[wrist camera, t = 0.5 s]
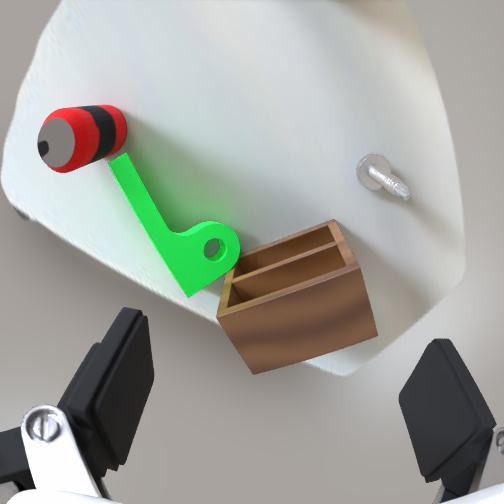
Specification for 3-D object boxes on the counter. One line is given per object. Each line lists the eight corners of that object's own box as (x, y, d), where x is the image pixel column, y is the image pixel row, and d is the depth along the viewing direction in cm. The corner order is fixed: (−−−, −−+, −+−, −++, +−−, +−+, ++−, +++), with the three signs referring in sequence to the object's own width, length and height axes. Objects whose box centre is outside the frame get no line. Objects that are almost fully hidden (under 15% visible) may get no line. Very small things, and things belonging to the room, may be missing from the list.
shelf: (229, 258, 46) (215, 317, 33) (334, 218, 42) (360, 267, 30) (257, 309, 50) (253, 375, 37) (353, 276, 46) (378, 336, 34)
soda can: (78, 115, 37) (26, 124, 26) (121, 97, 36) (73, 98, 25) (90, 162, 40) (42, 183, 29) (133, 147, 39) (89, 164, 28)
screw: (365, 144, 38) (391, 164, 39) (345, 173, 40) (372, 192, 40) (404, 161, 26) (436, 189, 27) (376, 201, 28) (410, 227, 29)
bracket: (229, 247, 49) (248, 258, 43) (176, 282, 47) (188, 298, 40) (168, 133, 42) (179, 123, 35) (109, 166, 39) (108, 162, 33)
